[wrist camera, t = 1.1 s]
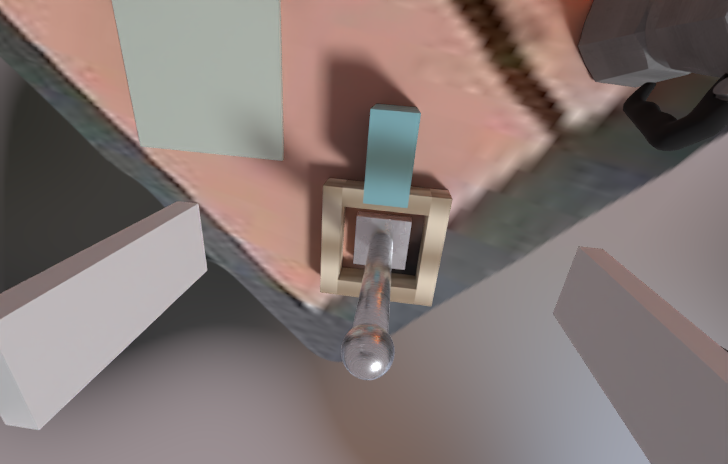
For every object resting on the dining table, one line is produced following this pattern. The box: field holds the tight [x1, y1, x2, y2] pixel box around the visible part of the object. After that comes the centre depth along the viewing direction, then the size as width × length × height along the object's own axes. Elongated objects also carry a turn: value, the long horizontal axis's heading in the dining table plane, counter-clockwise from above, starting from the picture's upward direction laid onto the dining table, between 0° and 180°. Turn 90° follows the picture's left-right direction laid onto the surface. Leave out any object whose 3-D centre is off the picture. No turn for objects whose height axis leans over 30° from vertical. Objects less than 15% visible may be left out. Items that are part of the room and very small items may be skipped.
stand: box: [341, 211, 412, 380], centre depth 30 cm, size 6×6×20 cm
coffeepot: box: [578, 0, 728, 151], centre depth 21 cm, size 15×9×18 cm, turn 150°
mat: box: [112, 0, 284, 161], centre depth 32 cm, size 20×16×1 cm
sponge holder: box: [320, 104, 452, 306], centre depth 34 cm, size 21×13×7 cm, turn 176°
